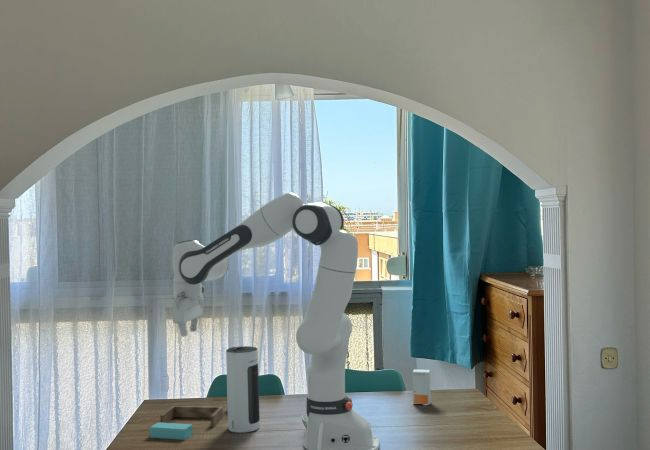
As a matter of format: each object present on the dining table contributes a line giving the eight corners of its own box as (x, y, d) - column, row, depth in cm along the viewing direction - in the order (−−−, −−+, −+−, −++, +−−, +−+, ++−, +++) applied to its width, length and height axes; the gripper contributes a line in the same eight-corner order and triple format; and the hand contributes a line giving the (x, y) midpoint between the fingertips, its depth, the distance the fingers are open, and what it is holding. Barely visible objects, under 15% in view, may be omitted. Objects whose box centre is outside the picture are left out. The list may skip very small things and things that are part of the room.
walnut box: (223, 416, 221) (222, 406, 221) (213, 427, 211) (213, 416, 210) (172, 416, 224) (172, 405, 224) (160, 426, 213) (160, 415, 213)
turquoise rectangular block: (192, 435, 204) (192, 424, 204) (185, 440, 199) (185, 429, 199) (158, 433, 206) (157, 422, 206) (150, 438, 202) (150, 427, 202)
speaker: (242, 435, 201) (240, 352, 201) (220, 429, 208) (218, 348, 208) (266, 427, 209) (264, 346, 209) (244, 421, 216) (243, 343, 216)
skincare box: (412, 405, 231) (411, 371, 231) (414, 401, 236) (413, 368, 236) (429, 406, 230) (428, 372, 230) (431, 402, 234) (430, 369, 234)
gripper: (186, 293, 197) (187, 339, 197) (206, 287, 217) (207, 328, 217) (166, 294, 198) (167, 339, 198) (188, 287, 218) (189, 328, 218)
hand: (188, 333), depth 208 cm, fingers open, 8 cm apart
